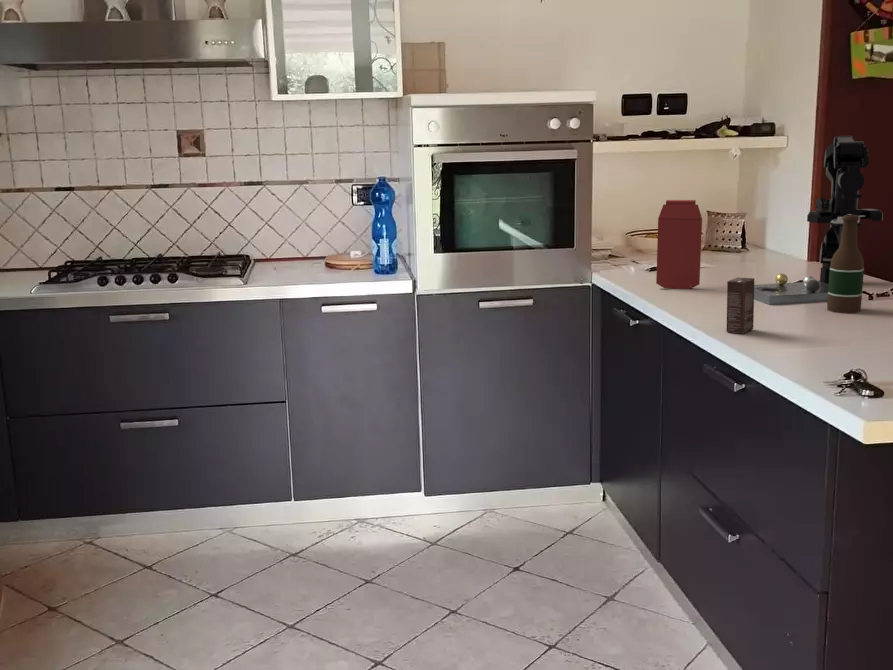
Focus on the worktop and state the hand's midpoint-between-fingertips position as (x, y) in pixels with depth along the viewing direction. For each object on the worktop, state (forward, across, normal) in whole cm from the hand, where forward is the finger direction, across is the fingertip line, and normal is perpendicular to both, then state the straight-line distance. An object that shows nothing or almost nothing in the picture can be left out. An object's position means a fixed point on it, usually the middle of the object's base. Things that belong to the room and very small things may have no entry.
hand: (842, 248), depth 243 cm
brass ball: (+9, +14, -6) cm, 17 cm away
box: (+13, +45, +33) cm, 57 cm away
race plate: (+13, +13, 0) cm, 18 cm away
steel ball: (+9, +9, 0) cm, 13 cm away
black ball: (+9, +11, +6) cm, 15 cm away
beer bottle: (+13, +11, +20) cm, 26 cm away
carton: (+13, +36, -23) cm, 45 cm away
